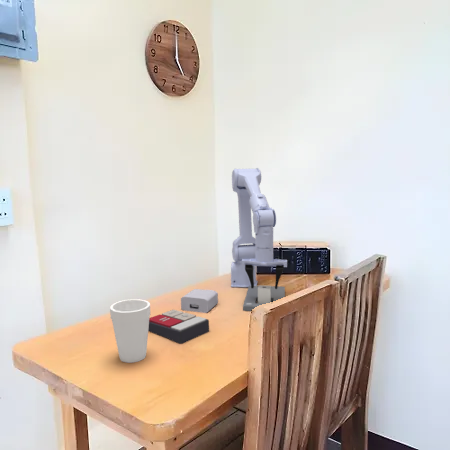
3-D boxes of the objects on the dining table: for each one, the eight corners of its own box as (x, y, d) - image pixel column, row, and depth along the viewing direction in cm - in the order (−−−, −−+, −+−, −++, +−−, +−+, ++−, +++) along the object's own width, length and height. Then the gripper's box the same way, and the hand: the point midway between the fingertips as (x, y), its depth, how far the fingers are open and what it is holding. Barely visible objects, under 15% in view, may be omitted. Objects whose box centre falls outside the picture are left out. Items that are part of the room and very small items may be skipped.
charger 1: (224, 298, 144) (207, 313, 130) (200, 296, 147) (181, 310, 133) (224, 285, 143) (207, 299, 129) (199, 283, 147) (180, 296, 133)
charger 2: (257, 306, 135) (257, 288, 134) (258, 302, 139) (258, 284, 138) (270, 307, 135) (270, 288, 134) (270, 303, 138) (270, 285, 137)
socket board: (242, 310, 132) (242, 305, 131) (249, 289, 153) (249, 284, 153) (284, 312, 130) (284, 306, 130) (284, 290, 151) (284, 285, 151)
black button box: (173, 307, 126) (209, 317, 116) (174, 321, 126) (210, 331, 116) (144, 318, 118) (179, 329, 108) (145, 333, 118) (180, 345, 108)
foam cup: (155, 347, 106) (153, 298, 104) (149, 365, 97) (146, 312, 95) (118, 348, 106) (115, 299, 104) (108, 366, 97) (105, 312, 95)
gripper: (240, 249, 131) (240, 290, 133) (287, 249, 129) (286, 292, 131) (242, 244, 138) (243, 284, 140) (287, 245, 136) (286, 285, 138)
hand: (264, 287), depth 136 cm, fingers open, 7 cm apart
